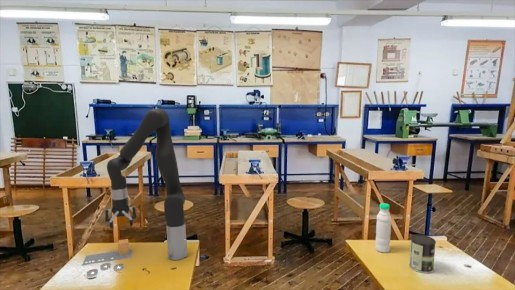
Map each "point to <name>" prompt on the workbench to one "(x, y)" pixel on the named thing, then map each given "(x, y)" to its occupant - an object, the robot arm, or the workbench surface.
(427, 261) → the coffee can
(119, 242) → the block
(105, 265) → the steel cylinder
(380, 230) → the water bottle
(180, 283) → the workbench surface
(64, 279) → the workbench surface
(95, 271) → the steel cylinder
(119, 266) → the steel cylinder
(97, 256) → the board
